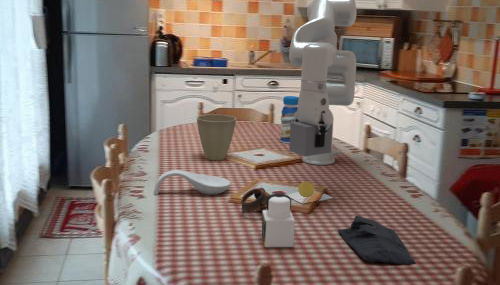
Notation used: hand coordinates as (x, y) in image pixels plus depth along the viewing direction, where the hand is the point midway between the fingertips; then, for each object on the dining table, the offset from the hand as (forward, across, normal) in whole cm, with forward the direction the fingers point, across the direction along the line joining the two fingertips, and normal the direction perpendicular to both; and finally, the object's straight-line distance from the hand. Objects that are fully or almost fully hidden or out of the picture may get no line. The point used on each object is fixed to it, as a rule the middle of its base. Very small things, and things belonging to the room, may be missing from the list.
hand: (310, 143), depth 171 cm
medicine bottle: (+17, -24, +29) cm, 41 cm away
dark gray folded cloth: (+18, -38, +9) cm, 43 cm away
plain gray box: (+3, 0, 0) cm, 3 cm away
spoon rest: (+17, +21, +29) cm, 40 cm away
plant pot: (+17, +54, +2) cm, 57 cm away
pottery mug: (+17, -4, +21) cm, 27 cm away
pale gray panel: (+17, 0, 0) cm, 17 cm away
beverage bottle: (+17, +64, -41) cm, 78 cm away
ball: (+14, 0, +1) cm, 14 cm away
